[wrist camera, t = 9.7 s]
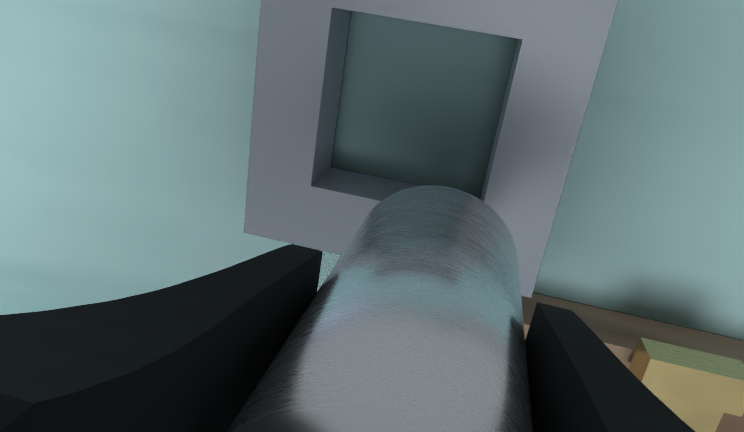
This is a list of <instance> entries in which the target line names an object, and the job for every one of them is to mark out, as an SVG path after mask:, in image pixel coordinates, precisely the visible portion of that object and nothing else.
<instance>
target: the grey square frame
mask: <svg viewBox="0 0 744 432" xmlns="http://www.w3.org/2000/svg"><path fill="white" fill-rule="evenodd" d="M617 2H618V0H261V8H260V21H259V34H258V48H257V61H256V75H255V88H254V102H253V115H252V129H251V142H250V156H249V169H248V182H247V196H246V209H245V223H244V233H248V234H253V235H257V236H262V237H266V238H270V239H275V240H279V241H284V242H288V243H292V244H297V245H301V246H306V247H310V248H314V249H319V250H323V251H328V252H332V253H336V254H341V255H342V253H343V252H344V250H345V249H346V247H347V246H348V244H349V242H350V241H351V239H352V238H353V236H354V235H355V233H356V232H357V230H358V229H359V227H360V226H361V224H362V222H363V221H364V219H365V218H366V217H367V215H368V214H369V213H370V211H371V210H372V209H373V208H374V207H375V206H376V205H378V204H379V203H380V202H381V201H383V200H384V199H385V198H387V197H389V196H391V195H392V194H394V193H396V192H399V191H402V190H404V189H408V188H412V187H416V186H419V185H414V184H409V183H404V182H399V181H395V180H390V179H385V178H380V177H375V176H370V175H366V174H361V173H356V172H351V171H346V170H341V169H337V168H332V167H331V161H332V154H333V146H334V138H335V131H336V123H337V115H338V108H339V100H340V92H341V84H342V77H343V69H344V61H345V54H346V46H347V38H348V31H349V23H350V15H351V11H356V12H362V13H368V14H374V15H380V16H386V17H392V18H398V19H404V20H410V21H416V22H422V23H428V24H433V25H439V26H445V27H451V28H457V29H463V30H469V31H475V32H481V33H487V34H493V35H499V36H505V37H511V38H517V39H518V41H517V45H516V50H515V54H514V58H513V62H512V67H511V71H510V75H509V79H508V83H507V88H506V92H505V96H504V100H503V105H502V109H501V113H500V117H499V122H498V126H497V130H496V134H495V138H494V143H493V147H492V151H491V155H490V160H489V164H488V168H487V172H486V176H485V181H484V185H483V189H482V193H481V198H479V199H480V200H482V201H483V202H485V203H486V204H487V205H489V206H490V207H491V208H492V209H493V210H494V211H495V212H496V213H497V214H498V215H499V216H500V217H501V219H502V220H503V221H504V222H505V224H506V226H507V227H508V229H509V231H510V232H511V235H512V237H513V240H514V242H515V246H516V250H517V255H518V265H519V277H520V288H521V296H525V297H530V298H531V297H532V293H533V290H534V286H535V283H536V280H537V276H538V273H539V269H540V266H541V262H542V259H543V256H544V252H545V249H546V245H547V242H548V238H549V235H550V232H551V228H552V225H553V221H554V218H555V215H556V211H557V208H558V204H559V201H560V197H561V194H562V191H563V187H564V184H565V180H566V177H567V173H568V170H569V167H570V163H571V160H572V156H573V153H574V149H575V146H576V143H577V139H578V136H579V132H580V129H581V125H582V122H583V119H584V115H585V112H586V108H587V105H588V102H589V98H590V95H591V91H592V88H593V84H594V81H595V78H596V74H597V71H598V67H599V64H600V60H601V57H602V54H603V50H604V47H605V43H606V40H607V36H608V33H609V30H610V26H611V23H612V19H613V16H614V13H615V9H616V6H617Z"/></svg>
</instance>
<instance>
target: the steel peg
mask: <svg viewBox="0 0 744 432" xmlns="http://www.w3.org/2000/svg"><path fill="white" fill-rule="evenodd" d="M227 432H533V426H532V414H531V403H530V391H529V380H528V368H527V357H526V345H525V334H524V323H523V311H522V300H521V288H520V277H519V265H518V255H517V250H516V246H515V242H514V240H513V237H512V235H511V232H510V231H509V229H508V227H507V226H506V224H505V222H504V221H503V220H502V219H501V217H500V216H499V215H498V214H497V213H496V212H495V211H494V210H493V209H492V208H491V207H490V206H489V205H487V204H486V203H485V202H483V201H482V200H480V199H479V198H477V197H475V196H473V195H472V194H469V193H467V192H464V191H462V190H459V189H455V188H452V187H446V186H439V185H425V186H416V187H412V188H408V189H404V190H402V191H399V192H396V193H394V194H392V195H391V196H389V197H387V198H385V199H384V200H383V201H381V202H380V203H379V204H378V205H376V206H375V207H374V208H373V209H372V210H371V211H370V213H369V214H368V215H367V217H366V218H365V219H364V221H363V222H362V224H361V226H360V227H359V229H358V230H357V232H356V233H355V235H354V236H353V238H352V239H351V241H350V242H349V244H348V246H347V247H346V249H345V250H344V252H343V253H342V255H341V256H340V258H339V259H338V261H337V263H336V264H335V266H334V267H333V269H332V270H331V272H330V273H329V275H328V276H327V278H326V280H325V281H324V283H323V284H322V286H321V287H320V289H319V290H318V292H317V293H316V295H315V296H314V298H313V300H312V301H311V303H310V304H309V306H308V307H307V309H306V310H305V312H304V313H303V315H302V317H301V318H300V320H299V321H298V323H297V324H296V326H295V327H294V329H293V330H292V332H291V333H290V335H289V337H288V338H287V340H286V341H285V343H284V344H283V346H282V347H281V349H280V350H279V352H278V354H277V355H276V357H275V358H274V360H273V361H272V363H271V364H270V366H269V367H268V369H267V371H266V372H265V374H264V375H263V377H262V378H261V380H260V381H259V383H258V384H257V386H256V387H255V389H254V391H253V392H252V394H251V395H250V397H249V398H248V400H247V401H246V403H245V404H244V406H243V408H242V409H241V411H240V412H239V414H238V415H237V417H236V418H235V420H234V421H233V423H232V425H231V426H230V428H229V429H228V431H227Z"/></svg>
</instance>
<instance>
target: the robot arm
mask: <svg viewBox="0 0 744 432" xmlns="http://www.w3.org/2000/svg"><path fill="white" fill-rule="evenodd" d="M322 252H323V251H319V250H315V249H311V248H306V247H302V246H298V245H294V244H291V245H287V246H284V247H281V248H278V249H275V250H273V251H270V252H267V253H265V254H262V255H260V256H257V257H254V258H252V259H249V260H247V261H244V262H241V263H239V264H236V265H234V266H231V267H228V268H226V269H223V270H220V271H217V272H214V273H211V274H208V275H205V276H202V277H199V278H196V279H193V280H190V281H187V282H184V283H181V284H178V285H174V286H171V287H167V288H164V289H160V290H156V291H152V292H148V293H144V294H140V295H135V296H131V297H126V298H122V299H117V300H112V301H107V302H101V303H94V304H87V305H81V306H74V307H68V308H61V309H55V310H48V311H40V312H30V313H19V314H9V315H0V432H227V431H228V429H229V428H230V426H231V425H232V423H233V421H234V420H235V418H236V417H237V415H238V414H239V412H240V411H241V409H242V408H243V406H244V404H245V403H246V401H247V400H248V398H249V397H250V395H251V394H252V392H253V391H254V389H255V387H256V386H257V384H258V383H259V381H260V380H261V378H262V377H263V375H264V374H265V372H266V371H267V369H268V367H269V366H270V364H271V363H272V361H273V360H274V358H275V357H276V355H277V354H278V352H279V350H280V349H281V347H282V346H283V344H284V343H285V341H286V340H287V338H288V337H289V335H290V333H291V332H292V330H293V329H294V327H295V326H296V324H297V323H298V321H299V320H300V318H301V317H302V315H303V313H304V312H305V310H306V309H307V307H308V306H309V304H310V303H311V301H312V300H313V298H314V296H315V295H316V293H317V287H318V280H319V273H320V266H321V259H322ZM525 345H526V357H527V368H528V380H529V391H530V403H531V414H532V426H533V432H695V431H694V430H693V429H692V428H691V427H690V426H688V425H687V424H686V423H685V422H684V421H683V420H681V419H680V418H679V417H678V416H677V415H676V414H675V413H674V412H673V411H672V410H670V409H669V408H668V407H667V406H666V405H665V404H664V403H663V402H662V401H661V400H660V399H659V398H657V397H656V396H655V395H654V394H653V393H652V392H651V391H650V390H649V389H648V388H647V387H646V386H645V385H644V384H643V383H642V382H641V381H640V380H639V379H638V378H637V377H636V376H635V375H634V374H633V373H632V372H631V371H630V370H629V369H628V368H627V367H626V366H625V365H624V364H623V363H622V362H621V361H620V360H619V359H618V358H617V357H616V356H615V355H614V353H613V352H612V351H611V350H610V349H609V348H608V347H607V346H606V345H605V344H604V343H603V342H602V341H601V340H600V339H599V337H598V336H597V335H596V334H595V333H594V332H593V331H592V330H591V329H590V328H589V327H588V326H587V325H586V324H585V323H584V322H583V321H582V320H581V319H580V318H579V317H578V316H577V315H576V314H575V313H574V312H573V311H572V310H568V309H564V308H560V307H556V306H551V305H547V304H543V303H539V302H537V304H536V307H535V310H534V314H533V317H532V320H531V323H530V326H529V330H528V333H527V336H526V339H525Z"/></svg>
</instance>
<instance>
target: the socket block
mask: <svg viewBox="0 0 744 432" xmlns="http://www.w3.org/2000/svg"><path fill="white" fill-rule="evenodd" d="M521 300H522V311H523V323H524V334H525V339H526V336H527V333H528V330H529V326H530V323H531V320H532V317H533V314H534V310H535V307H536V304H537V302H539V303H543V304H547V305H551V306H556V307H560V308H564V309H568V310H572V311H573V312H574V313H575V314H576V315H577V316H578V317H579V318H580V319H581V320H582V321H583V322H584V323H585V324H586V325H587V326H588V327H589V328H590V329H591V330H592V331H593V332H594V333H595V334H596V335H597V336H598V337H599V339H600V340H601V341H602V342H603V343H604V344H605V345H606V346H607V347H608V348H609V349H610V350H611V351H612V352H613V353H614V355H615V356H616V357H617V358H618V359H619V360H620V361H621V362H622V363H623V364H624V365H625V366H626V367H627V368H628V369H629V366H630V363H631V361H632V358H633V356H634V353H635V350H636V348H637V345H638V343H639V340H640V337H642V338H646V339H650V340H655V341H659V342H663V343H668V344H672V345H676V346H681V347H685V348H689V349H693V350H698V351H702V352H706V353H711V354H715V355H719V356H724V357H728V358H732V359H737V360H741V361H742V363H743V364H744V341H743V340H739V339H734V338H730V337H726V336H721V335H717V334H712V333H708V332H703V331H699V330H695V329H690V328H686V327H681V326H677V325H673V324H668V323H664V322H659V321H655V320H650V319H646V318H642V317H637V316H633V315H628V314H624V313H620V312H615V311H611V310H606V309H602V308H597V307H593V306H589V305H584V304H580V303H575V302H571V301H567V300H562V299H558V298H553V297H549V296H544V295H540V294H536V293H532V297H531V298H530V297H525V296H521ZM715 432H744V414H743V416H742V417H740V416H736V415H732V414H728V413H724V414H723V416H722V418H721V420H720V422H719V424H718V427H717V429H716V431H715Z"/></svg>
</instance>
